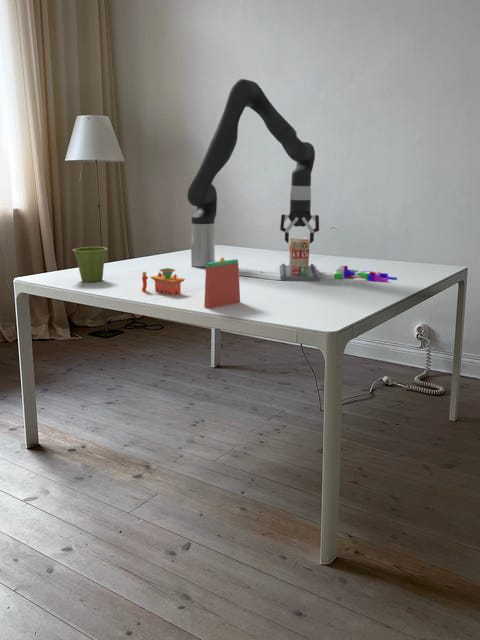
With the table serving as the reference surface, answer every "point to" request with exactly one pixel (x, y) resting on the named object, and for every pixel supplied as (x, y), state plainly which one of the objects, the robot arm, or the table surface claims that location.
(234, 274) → the toy building block set
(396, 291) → the table surface
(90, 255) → the plant pot
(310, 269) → the baseplate
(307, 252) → the stack of blocks
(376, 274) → the building block set
